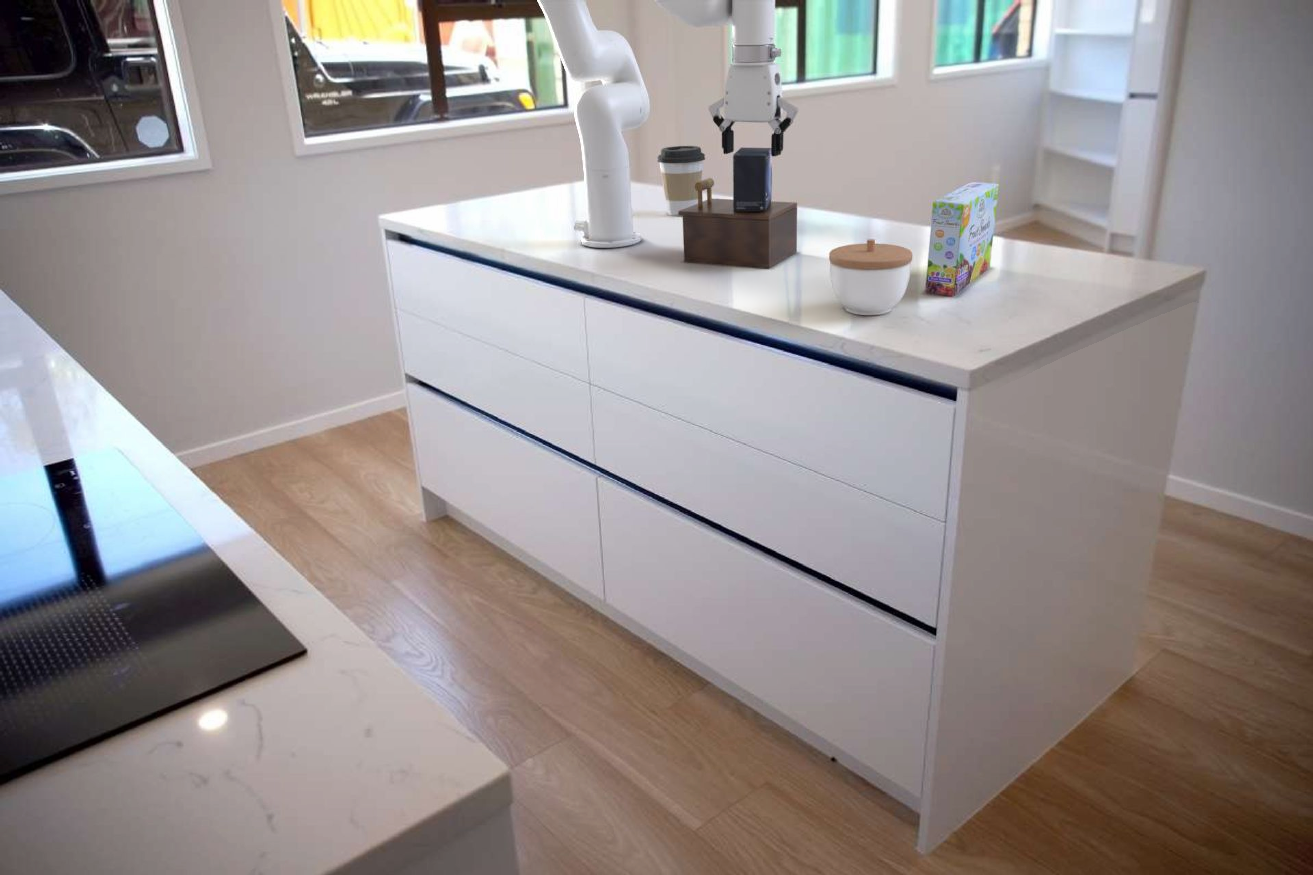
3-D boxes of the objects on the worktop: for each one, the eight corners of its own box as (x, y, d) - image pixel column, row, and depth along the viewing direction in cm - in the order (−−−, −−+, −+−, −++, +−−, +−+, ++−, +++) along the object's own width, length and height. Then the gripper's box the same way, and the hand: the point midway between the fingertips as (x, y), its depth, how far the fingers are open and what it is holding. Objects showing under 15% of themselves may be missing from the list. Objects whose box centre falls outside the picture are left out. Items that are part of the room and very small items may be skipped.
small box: (767, 212, 184) (767, 154, 179) (732, 213, 185) (731, 154, 181) (773, 202, 193) (773, 146, 189) (739, 202, 194) (739, 147, 190)
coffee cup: (677, 207, 245) (674, 144, 240) (716, 210, 239) (714, 146, 233) (649, 215, 237) (646, 150, 231) (689, 219, 231) (687, 152, 225)
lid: (678, 215, 190) (677, 185, 187) (710, 202, 200) (709, 174, 198) (769, 220, 181) (768, 189, 179) (797, 206, 192) (797, 177, 190)
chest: (684, 261, 193) (682, 215, 189) (715, 246, 204) (714, 202, 200) (769, 269, 184) (769, 220, 181) (796, 252, 195) (797, 207, 192)
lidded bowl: (820, 301, 163) (821, 234, 159) (895, 296, 164) (899, 229, 159) (838, 323, 152) (840, 251, 147) (919, 317, 152) (924, 246, 148)
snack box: (957, 297, 161) (964, 203, 155) (923, 293, 164) (929, 201, 158) (992, 267, 178) (1000, 181, 172) (961, 265, 181) (967, 180, 175)
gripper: (806, 54, 177) (803, 153, 184) (718, 54, 185) (718, 149, 192) (790, 57, 171) (787, 159, 178) (700, 57, 179) (701, 155, 186)
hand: (752, 154), depth 185 cm, fingers open, 9 cm apart
